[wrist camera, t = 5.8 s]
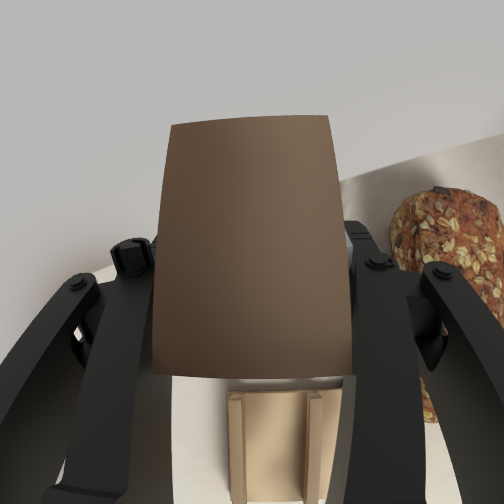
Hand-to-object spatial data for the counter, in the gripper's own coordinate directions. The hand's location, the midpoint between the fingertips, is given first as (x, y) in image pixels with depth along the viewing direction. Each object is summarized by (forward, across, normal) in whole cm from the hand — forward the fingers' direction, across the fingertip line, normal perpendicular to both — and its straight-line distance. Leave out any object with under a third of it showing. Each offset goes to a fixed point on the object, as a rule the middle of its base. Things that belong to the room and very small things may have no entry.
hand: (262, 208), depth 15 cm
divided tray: (-2, +3, -22) cm, 23 cm away
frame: (0, 0, -5) cm, 5 cm away
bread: (+7, +16, -14) cm, 23 cm away
